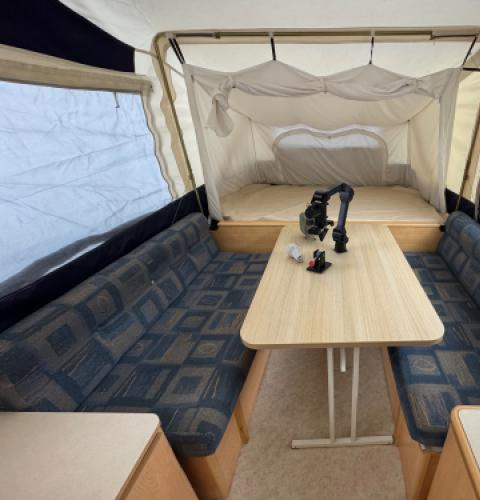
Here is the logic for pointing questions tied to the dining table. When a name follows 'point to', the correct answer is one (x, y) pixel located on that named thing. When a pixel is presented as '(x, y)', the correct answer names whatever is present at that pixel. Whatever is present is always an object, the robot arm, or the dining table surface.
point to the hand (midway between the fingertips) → (321, 241)
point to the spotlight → (294, 252)
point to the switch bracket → (319, 263)
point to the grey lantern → (304, 224)
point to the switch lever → (315, 259)
